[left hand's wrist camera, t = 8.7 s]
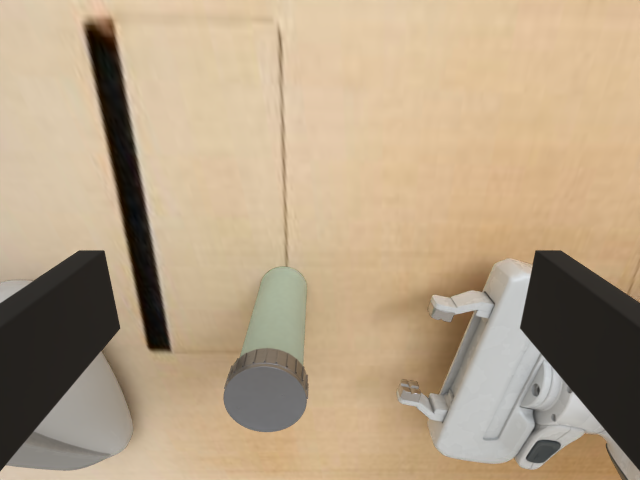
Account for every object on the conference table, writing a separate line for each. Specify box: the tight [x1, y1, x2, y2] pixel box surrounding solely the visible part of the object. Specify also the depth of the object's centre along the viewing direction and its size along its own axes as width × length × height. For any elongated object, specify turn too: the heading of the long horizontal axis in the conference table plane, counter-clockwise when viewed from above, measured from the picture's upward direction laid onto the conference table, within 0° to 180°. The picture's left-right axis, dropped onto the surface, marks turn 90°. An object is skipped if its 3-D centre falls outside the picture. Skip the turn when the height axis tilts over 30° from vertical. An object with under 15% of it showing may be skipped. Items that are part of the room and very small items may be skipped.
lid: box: [224, 348, 308, 432], centre depth 27 cm, size 6×6×2 cm
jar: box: [240, 267, 307, 366], centre depth 34 cm, size 5×5×15 cm
